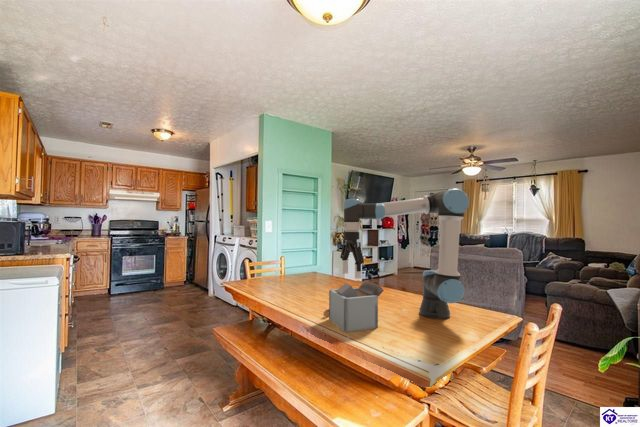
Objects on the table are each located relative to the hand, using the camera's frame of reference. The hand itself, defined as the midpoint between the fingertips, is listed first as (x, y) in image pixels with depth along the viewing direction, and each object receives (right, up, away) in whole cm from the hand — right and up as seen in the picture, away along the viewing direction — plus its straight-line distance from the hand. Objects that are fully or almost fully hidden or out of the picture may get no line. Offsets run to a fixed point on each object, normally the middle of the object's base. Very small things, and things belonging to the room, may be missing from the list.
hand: (351, 275), depth 143 cm
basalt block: (+1, -13, 0) cm, 13 cm away
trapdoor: (+7, -12, +2) cm, 14 cm away
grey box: (+1, -23, 0) cm, 23 cm away
